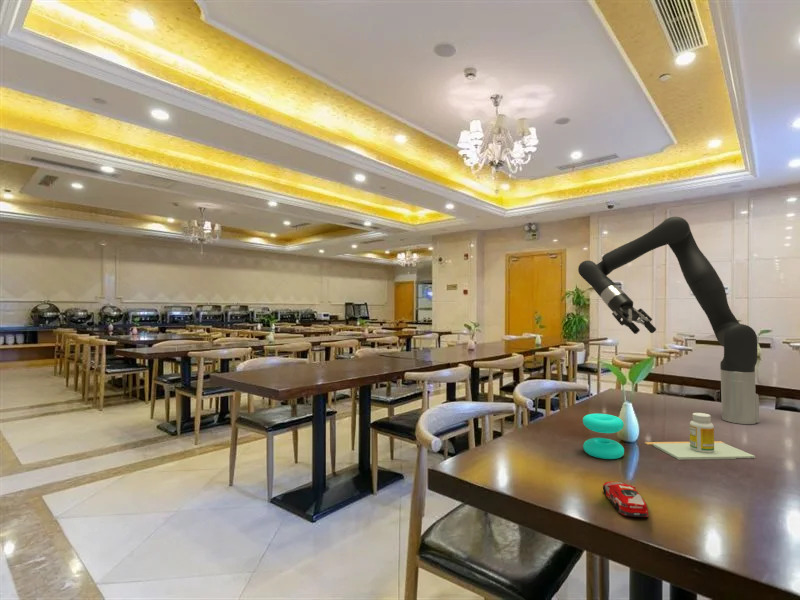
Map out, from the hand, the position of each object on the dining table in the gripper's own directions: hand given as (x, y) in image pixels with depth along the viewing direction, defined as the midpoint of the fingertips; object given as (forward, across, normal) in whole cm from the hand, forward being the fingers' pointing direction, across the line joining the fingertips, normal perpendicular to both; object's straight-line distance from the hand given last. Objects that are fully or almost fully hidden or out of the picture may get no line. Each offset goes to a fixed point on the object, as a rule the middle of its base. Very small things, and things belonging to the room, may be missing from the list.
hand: (645, 331), depth 147 cm
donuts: (+34, -42, +10) cm, 55 cm away
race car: (+50, -63, -6) cm, 80 cm away
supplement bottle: (+41, -18, +2) cm, 45 cm away
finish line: (+37, -14, +7) cm, 40 cm away
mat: (+41, -17, +2) cm, 45 cm away
